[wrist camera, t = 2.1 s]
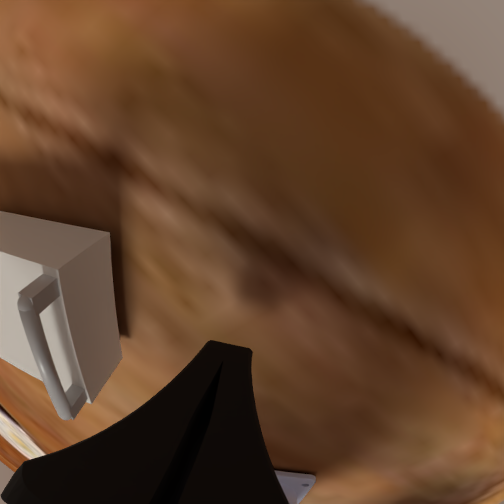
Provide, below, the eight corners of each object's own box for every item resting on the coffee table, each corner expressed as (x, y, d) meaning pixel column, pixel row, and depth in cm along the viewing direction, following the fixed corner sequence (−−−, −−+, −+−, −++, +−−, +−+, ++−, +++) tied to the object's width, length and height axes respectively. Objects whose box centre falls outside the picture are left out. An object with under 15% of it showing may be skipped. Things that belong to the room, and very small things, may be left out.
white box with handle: (130, 347, 14) (74, 430, 9) (15, 304, 14) (-44, 356, 10) (120, 225, 11) (24, 295, 6) (-5, 202, 12) (-84, 243, 7)
